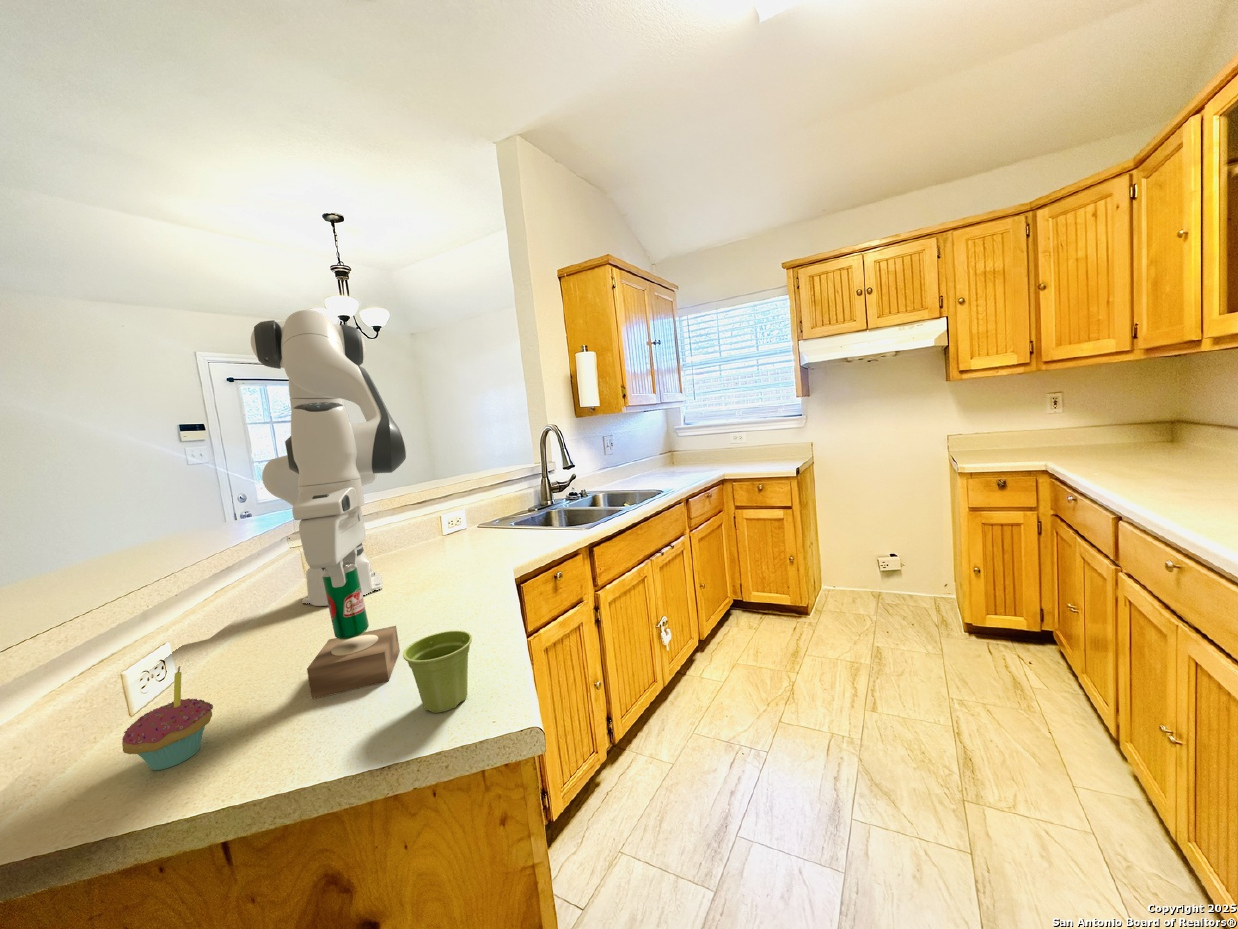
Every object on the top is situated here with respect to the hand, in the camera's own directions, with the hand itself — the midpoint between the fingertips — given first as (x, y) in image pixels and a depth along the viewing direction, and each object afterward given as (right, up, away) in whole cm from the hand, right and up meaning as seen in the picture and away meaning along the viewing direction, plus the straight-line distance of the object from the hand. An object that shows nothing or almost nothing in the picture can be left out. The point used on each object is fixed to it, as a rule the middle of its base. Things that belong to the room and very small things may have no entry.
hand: (345, 580), depth 76 cm
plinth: (+2, -16, +1) cm, 17 cm away
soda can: (+1, -10, +1) cm, 10 cm away
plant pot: (+21, -16, -9) cm, 28 cm away
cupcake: (-12, -20, -17) cm, 29 cm away
